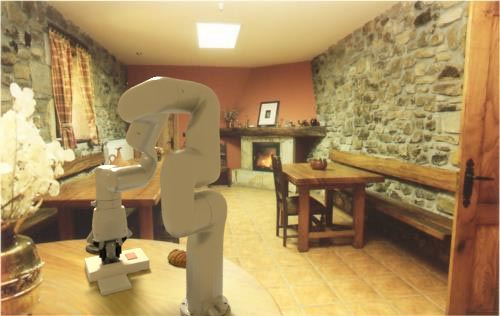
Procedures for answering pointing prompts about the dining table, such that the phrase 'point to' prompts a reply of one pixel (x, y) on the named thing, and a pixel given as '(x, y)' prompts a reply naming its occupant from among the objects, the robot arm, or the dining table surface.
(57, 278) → the dining table surface
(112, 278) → the pad
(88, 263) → the board
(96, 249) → the grey rounded lumpy piece
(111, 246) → the peg
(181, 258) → the pastry
